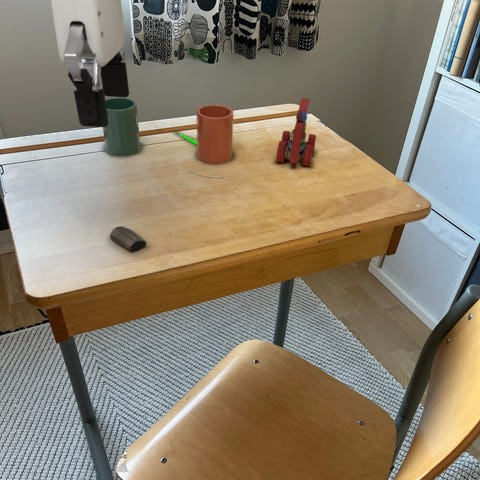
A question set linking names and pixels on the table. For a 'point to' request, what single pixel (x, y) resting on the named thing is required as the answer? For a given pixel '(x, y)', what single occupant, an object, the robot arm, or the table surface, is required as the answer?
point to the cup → (214, 133)
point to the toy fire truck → (297, 140)
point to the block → (127, 238)
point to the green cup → (121, 127)
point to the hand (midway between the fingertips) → (106, 110)
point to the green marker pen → (189, 139)
